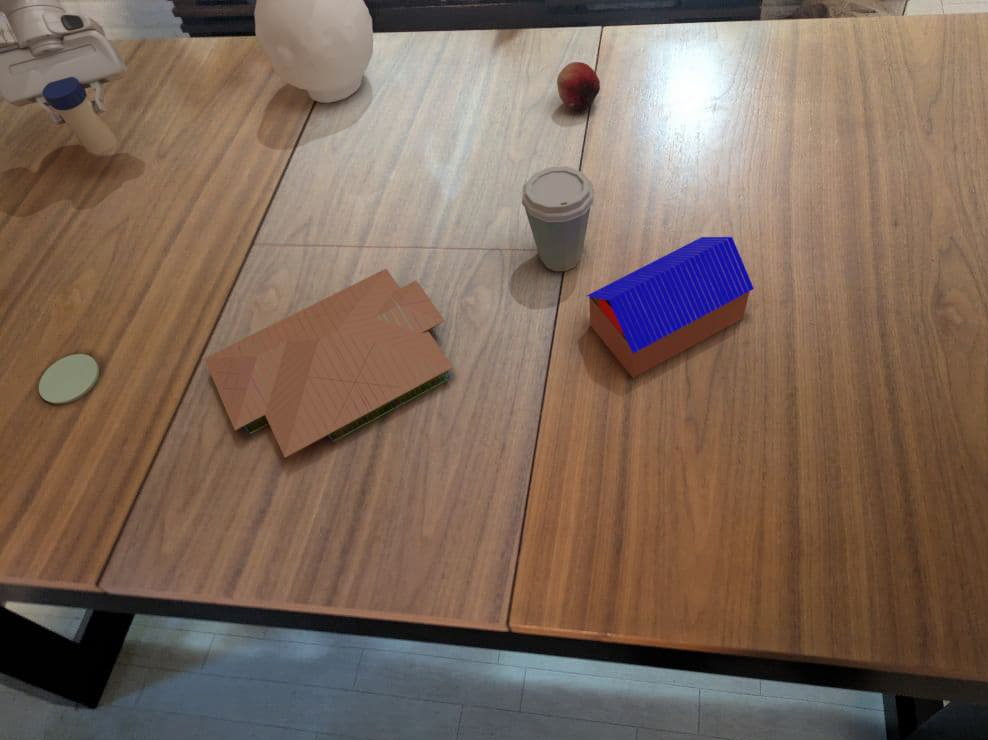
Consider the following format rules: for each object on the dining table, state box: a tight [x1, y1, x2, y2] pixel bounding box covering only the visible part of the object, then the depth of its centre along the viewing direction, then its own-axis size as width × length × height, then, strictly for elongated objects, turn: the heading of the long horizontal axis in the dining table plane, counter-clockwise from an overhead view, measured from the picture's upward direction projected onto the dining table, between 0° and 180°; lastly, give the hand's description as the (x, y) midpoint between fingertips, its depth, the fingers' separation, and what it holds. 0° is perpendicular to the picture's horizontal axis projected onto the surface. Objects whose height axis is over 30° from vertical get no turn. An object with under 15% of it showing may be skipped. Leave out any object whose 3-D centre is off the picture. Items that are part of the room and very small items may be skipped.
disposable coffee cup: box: [521, 166, 595, 272], centre depth 107 cm, size 11×11×15 cm
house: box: [586, 236, 755, 379], centre depth 100 cm, size 12×20×12 cm, turn 120°
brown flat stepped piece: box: [203, 268, 454, 459], centre depth 102 cm, size 23×33×8 cm
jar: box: [55, 94, 118, 155], centre depth 125 cm, size 6×6×11 cm
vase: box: [253, 0, 374, 104], centre depth 130 cm, size 19×21×30 cm
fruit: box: [556, 61, 601, 111], centre depth 129 cm, size 8×8×8 cm
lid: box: [42, 77, 87, 110], centre depth 121 cm, size 6×6×2 cm
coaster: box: [38, 353, 100, 405], centre depth 109 cm, size 9×9×1 cm
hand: (81, 117), depth 124 cm, fingers closed on jar, 5 cm apart
